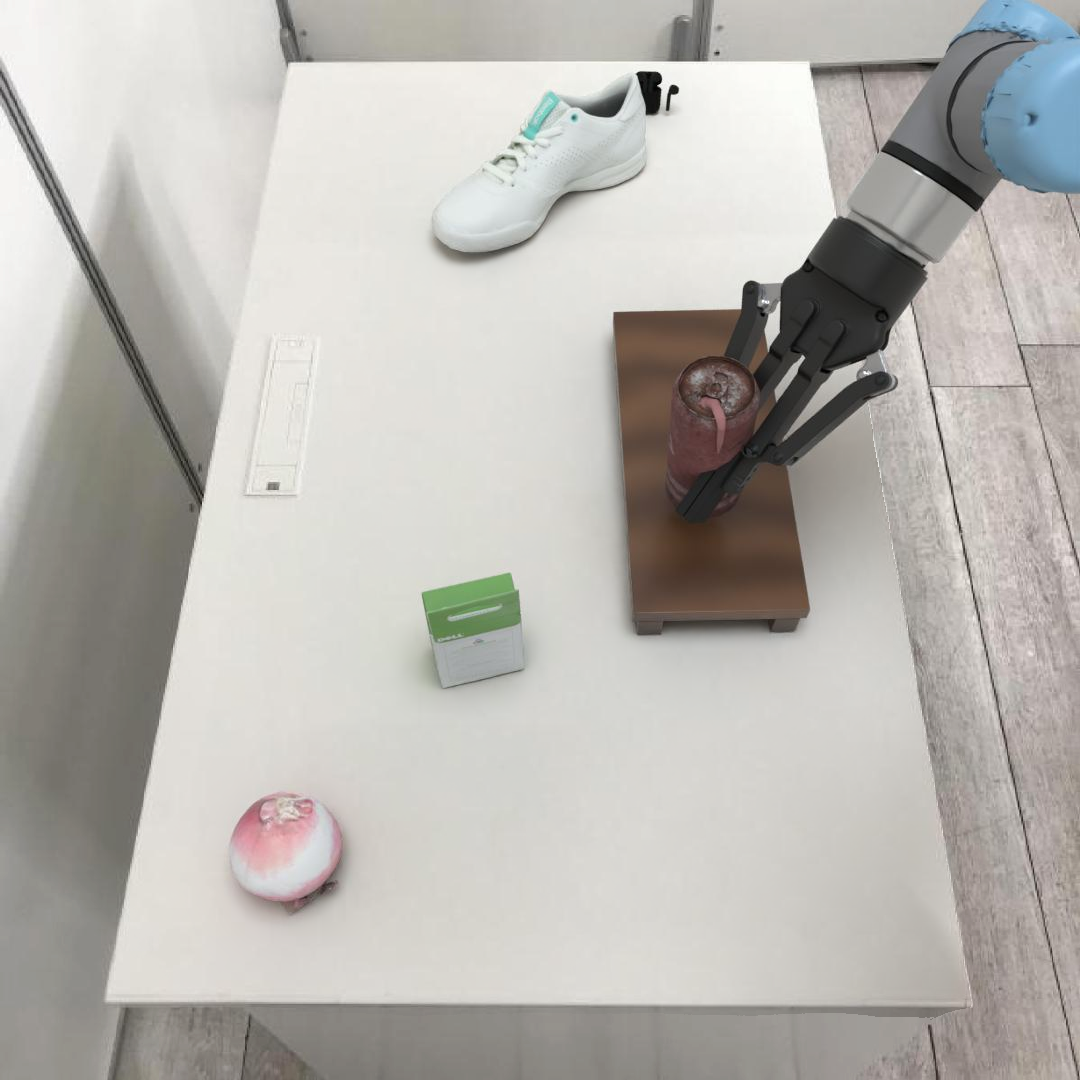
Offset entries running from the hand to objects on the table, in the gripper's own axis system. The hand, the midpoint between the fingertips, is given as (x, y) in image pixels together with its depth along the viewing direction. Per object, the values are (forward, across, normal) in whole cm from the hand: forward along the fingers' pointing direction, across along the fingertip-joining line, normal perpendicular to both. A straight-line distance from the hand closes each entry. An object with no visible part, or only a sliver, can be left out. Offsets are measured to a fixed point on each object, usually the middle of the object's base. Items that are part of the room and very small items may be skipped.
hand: (690, 516), depth 80 cm
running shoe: (-9, +43, -25) cm, 50 cm away
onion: (+34, +4, +18) cm, 39 cm away
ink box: (+20, +6, +4) cm, 21 cm away
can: (0, +2, -6) cm, 6 cm away
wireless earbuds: (-22, +45, -38) cm, 63 cm away
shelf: (+1, +7, -15) cm, 17 cm away
